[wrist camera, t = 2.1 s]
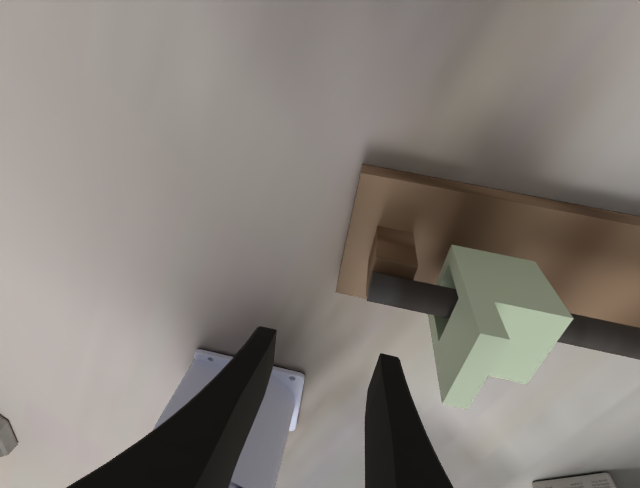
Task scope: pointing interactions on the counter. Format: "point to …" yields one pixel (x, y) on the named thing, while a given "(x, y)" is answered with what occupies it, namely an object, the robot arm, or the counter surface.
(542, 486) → the coffee box
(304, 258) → the counter surface
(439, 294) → the cord rail
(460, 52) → the counter surface
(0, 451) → the tankard
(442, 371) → the sleeve
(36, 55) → the counter surface
